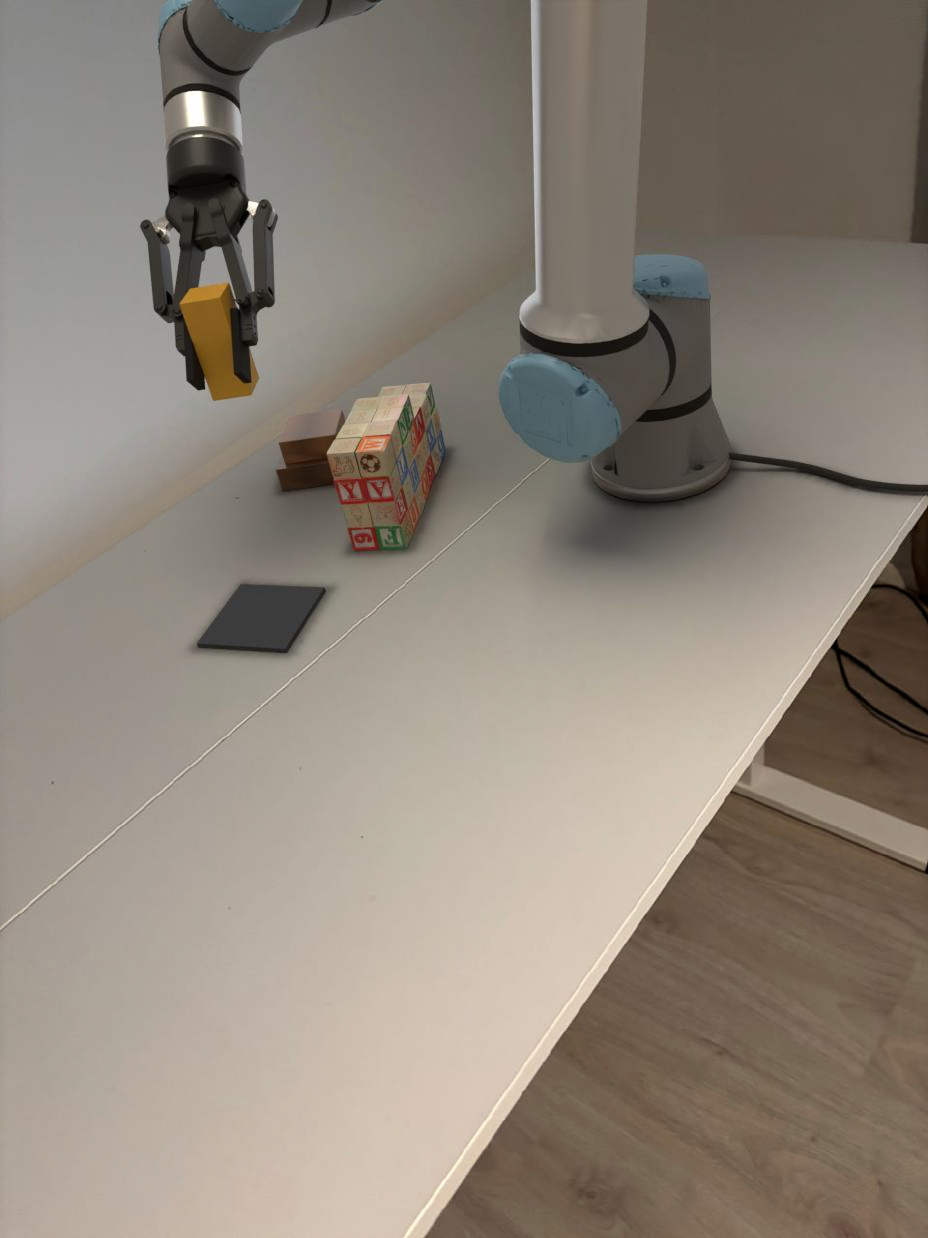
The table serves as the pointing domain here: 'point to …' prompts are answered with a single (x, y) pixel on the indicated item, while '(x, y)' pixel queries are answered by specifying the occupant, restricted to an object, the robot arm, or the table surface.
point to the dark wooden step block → (308, 449)
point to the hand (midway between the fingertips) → (219, 381)
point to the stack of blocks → (387, 464)
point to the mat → (262, 618)
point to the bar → (215, 339)
